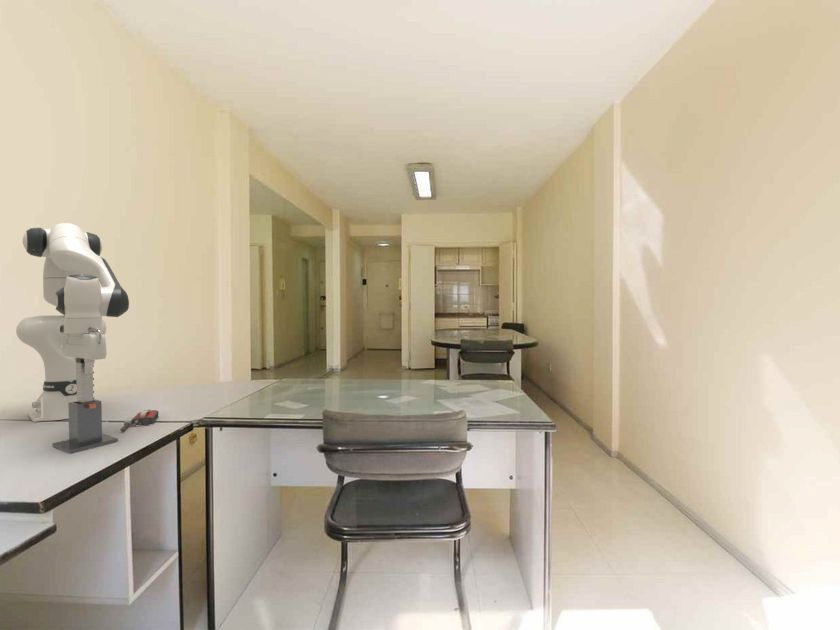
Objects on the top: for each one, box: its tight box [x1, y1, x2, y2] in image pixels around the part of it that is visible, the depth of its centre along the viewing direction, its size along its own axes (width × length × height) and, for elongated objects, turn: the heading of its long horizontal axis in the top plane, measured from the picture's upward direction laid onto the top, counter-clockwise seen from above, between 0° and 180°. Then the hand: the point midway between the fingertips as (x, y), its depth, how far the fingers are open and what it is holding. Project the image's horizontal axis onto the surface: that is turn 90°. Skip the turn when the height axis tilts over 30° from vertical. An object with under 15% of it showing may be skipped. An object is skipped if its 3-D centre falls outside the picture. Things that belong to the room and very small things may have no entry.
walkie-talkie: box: [120, 409, 159, 432], centre depth 143 cm, size 9×4×20 cm
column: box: [76, 359, 95, 404], centre depth 122 cm, size 3×4×20 cm
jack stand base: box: [51, 398, 119, 454], centre depth 122 cm, size 12×12×13 cm
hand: (84, 372), depth 122 cm, fingers closed on column, 3 cm apart
